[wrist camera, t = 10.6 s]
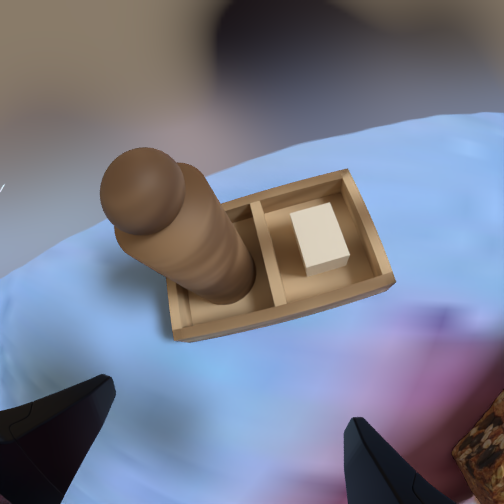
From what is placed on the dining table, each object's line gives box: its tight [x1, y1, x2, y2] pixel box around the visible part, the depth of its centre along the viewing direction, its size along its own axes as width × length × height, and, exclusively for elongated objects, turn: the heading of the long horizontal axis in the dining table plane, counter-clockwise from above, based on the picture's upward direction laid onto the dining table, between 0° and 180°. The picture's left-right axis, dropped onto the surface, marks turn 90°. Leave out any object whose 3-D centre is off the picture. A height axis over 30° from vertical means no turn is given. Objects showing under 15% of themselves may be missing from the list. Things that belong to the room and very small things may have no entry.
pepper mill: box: [100, 147, 256, 305], centre depth 16 cm, size 5×5×14 cm
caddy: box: [166, 169, 396, 343], centre depth 21 cm, size 10×16×3 cm, turn 102°
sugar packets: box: [290, 202, 350, 277], centre depth 20 cm, size 4×3×2 cm
